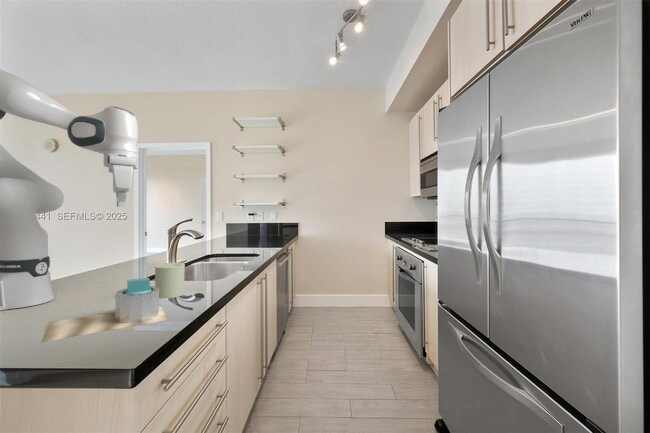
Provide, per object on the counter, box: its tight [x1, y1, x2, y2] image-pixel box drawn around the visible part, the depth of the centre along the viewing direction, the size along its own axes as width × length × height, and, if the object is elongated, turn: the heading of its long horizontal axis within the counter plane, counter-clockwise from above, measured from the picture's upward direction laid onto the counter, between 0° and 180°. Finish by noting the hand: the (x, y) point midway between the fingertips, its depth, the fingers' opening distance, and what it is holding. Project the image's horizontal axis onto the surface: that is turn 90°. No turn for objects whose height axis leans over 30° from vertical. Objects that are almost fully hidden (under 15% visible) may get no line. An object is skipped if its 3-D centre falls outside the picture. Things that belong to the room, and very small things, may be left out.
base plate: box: [41, 305, 170, 343], centre depth 79 cm, size 25×14×2 cm, turn 126°
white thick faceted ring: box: [114, 285, 160, 323], centre depth 83 cm, size 10×10×7 cm
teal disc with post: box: [125, 277, 151, 295], centre depth 83 cm, size 6×6×4 cm
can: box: [154, 262, 186, 299], centre depth 104 cm, size 9×9×12 cm
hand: (120, 207), depth 94 cm, fingers open, 8 cm apart
